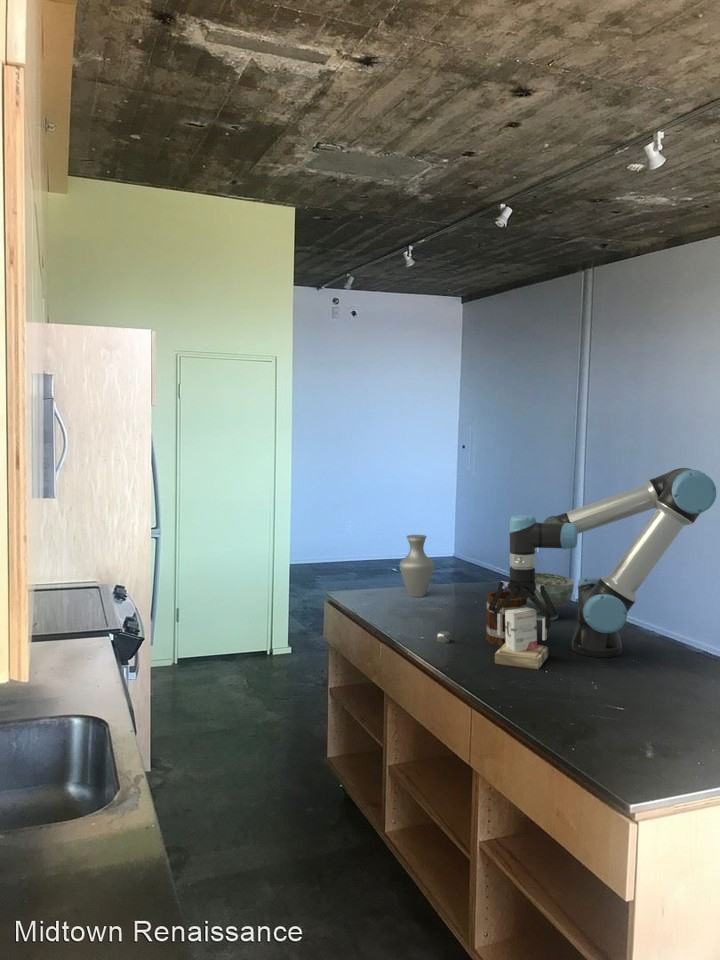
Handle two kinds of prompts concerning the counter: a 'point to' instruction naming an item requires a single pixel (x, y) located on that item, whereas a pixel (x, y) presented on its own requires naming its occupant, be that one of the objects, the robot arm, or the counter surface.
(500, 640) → the mug
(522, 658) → the stand
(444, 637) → the silver metal dome
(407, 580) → the vase
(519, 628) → the ink box
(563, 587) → the bowl
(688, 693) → the counter surface
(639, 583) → the robot arm
